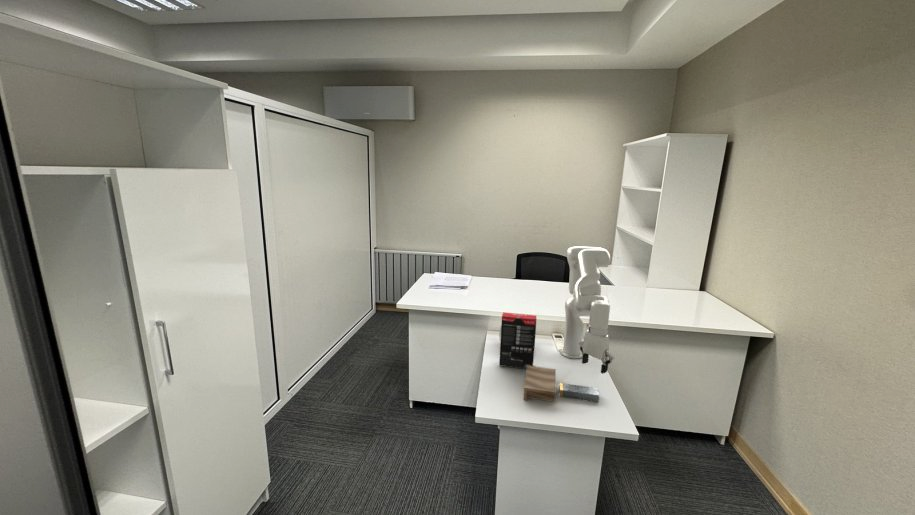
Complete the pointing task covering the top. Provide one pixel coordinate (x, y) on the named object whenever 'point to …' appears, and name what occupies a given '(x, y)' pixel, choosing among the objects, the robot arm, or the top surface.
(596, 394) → the slab
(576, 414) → the top surface
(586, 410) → the top surface
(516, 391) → the top surface
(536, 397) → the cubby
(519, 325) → the graphics card box
